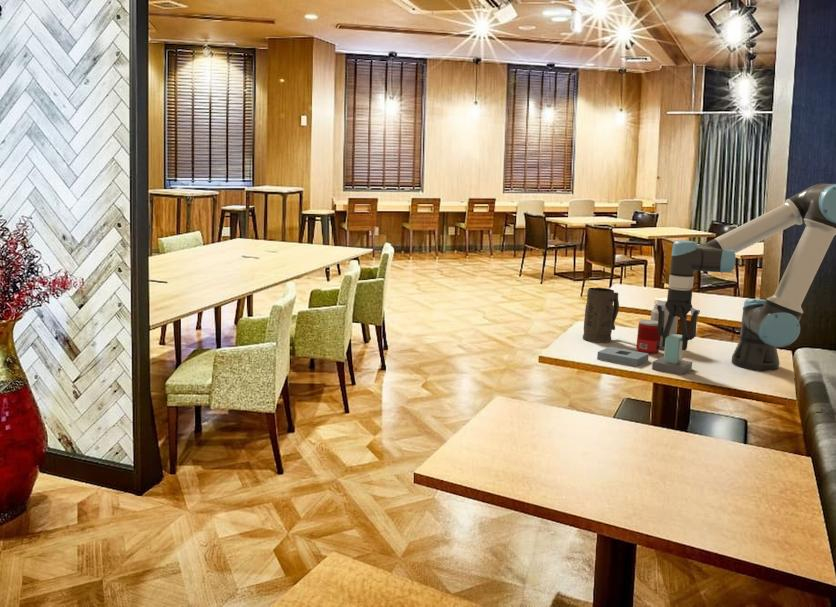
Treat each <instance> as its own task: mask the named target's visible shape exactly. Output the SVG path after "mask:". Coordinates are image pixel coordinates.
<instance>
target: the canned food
mask: <svg viewBox="0 0 836 607" xmlns="http://www.w3.org/2000/svg"><path fill="white" fill-rule="evenodd" d="M657 332H658V321H654V320H651V319H640V320H639V321H638V327H637V337H636V348H635V349H636V351H637V352H643V353H648V354H649V355H656V354H658V353H659V352H660V349H659V348H660V338H661V335H658V333H657Z"/></svg>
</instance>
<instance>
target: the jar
mask: <svg viewBox="0 0 836 607" xmlns="http://www.w3.org/2000/svg"><path fill="white" fill-rule="evenodd" d="M666 302H667V297H663V296H662V297H659V296H658V297H655V298H654V305H653V308H652V309H651V313H650V320H654V321H658V315H659V312H658V309H657V306H659V305H664V304H665V303H666ZM668 316H669V311H668V310H667V308H666V310H665V315H664V330H665V326H666V323H667V320H668ZM678 319H679V317H678V316H675V318H674V320H673V323H672V326H671V329H670V332H669V335H671V334H675V335H677V330H678ZM663 332H664V331H663ZM662 341H663V337H662V336H661V338H660V348H659V350H665V347H663V346H662Z"/></svg>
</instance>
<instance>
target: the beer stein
mask: <svg viewBox="0 0 836 607" xmlns="http://www.w3.org/2000/svg"><path fill="white" fill-rule="evenodd" d="M619 309H620V303H619V293H618V292H615V290H614V289H610V288H605V287H588V288H587V296H586V304H585V310H584V319H583V320H584V321H583V334H582V339H583V340H584V341H587V342H591V343H604V344H605V343H610V342H612V331H615V330H616V325H615V321H616V319H617V317H618V314H619Z"/></svg>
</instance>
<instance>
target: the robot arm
mask: <svg viewBox="0 0 836 607" xmlns="http://www.w3.org/2000/svg"><path fill="white" fill-rule="evenodd" d="M784 201H785V202H784V203H783V204H782V205H780V206H778V207H775V208H774V209H771V210H770V211H768V212H766V213H764V214H761V215H759V216H758V217H755V218H754V219H751V220H749V221H747V222H745V223H743V224H742V225H739V226H738V227H735V228H733V229H732V230H729V231H727V232H726V233H723V234H721V235H719V236H717V237H715V238H714V239H711V240H709V241H707V242H705V243H704V242H702V243H699V244H698V243H697V242H696V241H693V240H675V241H674V242H673V244H672V249H671V253H670V254H671V257H670V259H671V260H670V270H669V279H668V289H667V297H666V298H667V302H666V303H665V304H664V305H659V306H657V309H658V312H659V315H658V332H657V333H658V335H661V336H662V337H663V341H662V346H663V347H666V337H667V336H669V332H670V329H671V326H672V323H673V320H674V318H675V316H678V318H679V321H680V327H681V335H682V340H680V346H679V356H678V360H684V351H686V350H687V349H688V343H689V342H688V341H692V340H694V338H695V336H696V328H697V321H698V316H699V315H700V314H701V311H700V309H696V308H694V307H693V305H692V298H693V288H694V287H693V286H694V280H695V272H710V273H720V274H723V273H724V274H725V273H731V272H733V271H734V269H735V267H736V261H737V260H736V259H737V258H736V253H737V254H738V253H739V252H741V251H743V250H745V249H747V248H749V247H752V246H753V245H755V244H757V243H759V242H761V241H763V240H765V239H767V238H769V237H772V236H774V235H776V234H777V233H780V232H782V231H784V230H786V229H788V228H790V227H792V226H794V225H798V226H801V225H803V224H805V228H804V230H803V232H802V234H801V236H800V239H799V240H798V243H797V245H796V247H795V248H794V249H795V250H794V251H793V253H792V256H791V258H790V260H789V262H788V264H787V266H786V268H785V270H784V272H783V275H782V277H781V279H780V281H779V283H778V286H777V288H776V290H775V292H774V294H773V295H772V296H769V297H767V298H766V299H758V298H757V299H756V298H755V299H753V298H748V299H745V300H744V302H743V303H744V304H743V307H742V317H741V325H740V334H739V341H738V342H737V344H736V345H737V346H736V347H735V349H734V351H733V354H732V355H731V364H733V365H735V366H737V367H740V368H744V369H749V370H753V371H765V370H767V371H769V370H771V371H777V370H779V368H780V358H779V353H778V349H777V348H784V347H787V346H790V345H792V344H793V343H794V342H795V341H796V340H797V339H798V338H799V335H800V334H801V323H800V321H801V318H802V315H803V314H804V310H803V308H802V304H803V302H804V300H805V297H806V296H807V293H808V291H809V289H810V287H811V285H812V283H813V281H814V279H815V276H816V275H817V272H818V270H819V268H820V266H821V264H822V262H823V259H824V258H825V256H826V253H827V252H828V249H829V247H830V245H831V243H832V241H833V239H834V237H835V236H836V183H816V184H815V185H812V186H810V187H808V188H806V189H804V190H802V191H799V192H798V193H796V194H794V195H792V196H790V197H788V198H787V199H785V200H784ZM666 308H667V310H668V311H669V316H668V320H667V323H666V326H665V330H664V315H665V310H666ZM688 313H690V315H691V318H690V323H689V324H690V325H689V330H688V320H687V319H688V317H687V316H688ZM663 331H664V332H663ZM663 350H664V351H663V357H665V349H663Z"/></svg>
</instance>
